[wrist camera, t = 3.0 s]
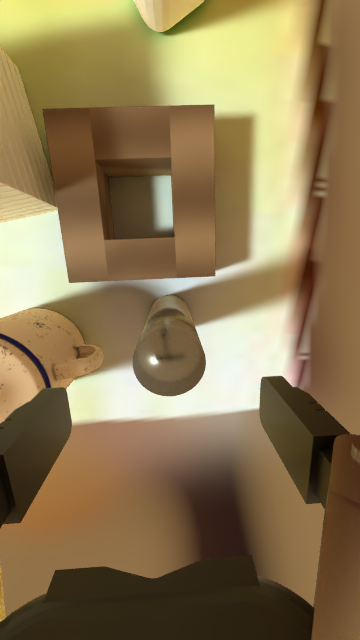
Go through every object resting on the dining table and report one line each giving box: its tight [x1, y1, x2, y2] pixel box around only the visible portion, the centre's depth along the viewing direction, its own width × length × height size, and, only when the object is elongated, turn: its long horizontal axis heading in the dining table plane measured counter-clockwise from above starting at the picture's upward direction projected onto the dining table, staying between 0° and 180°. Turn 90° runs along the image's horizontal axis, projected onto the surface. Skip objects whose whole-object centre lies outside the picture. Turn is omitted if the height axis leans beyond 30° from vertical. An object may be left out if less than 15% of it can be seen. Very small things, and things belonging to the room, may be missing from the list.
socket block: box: [43, 105, 215, 283], centre depth 21 cm, size 12×12×4 cm
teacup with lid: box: [0, 308, 104, 423], centre depth 20 cm, size 12×9×12 cm
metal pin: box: [133, 295, 206, 396], centre depth 19 cm, size 4×4×12 cm
